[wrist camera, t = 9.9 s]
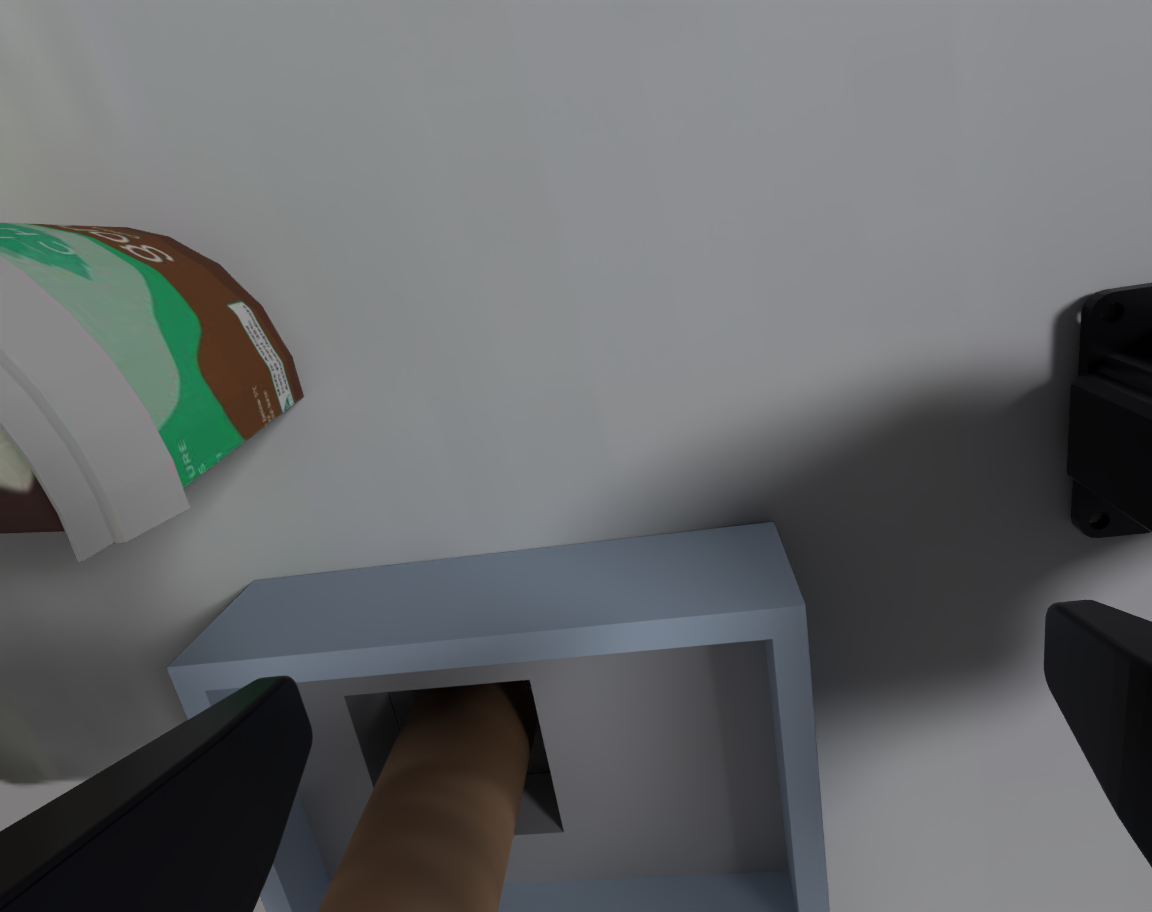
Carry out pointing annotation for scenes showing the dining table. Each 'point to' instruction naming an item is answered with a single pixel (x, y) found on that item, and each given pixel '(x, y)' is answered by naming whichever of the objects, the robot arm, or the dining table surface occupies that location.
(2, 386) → the food container
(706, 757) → the box
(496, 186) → the dining table surface
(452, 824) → the peg
